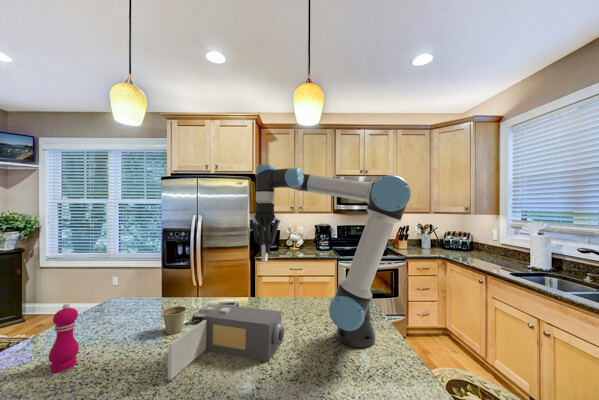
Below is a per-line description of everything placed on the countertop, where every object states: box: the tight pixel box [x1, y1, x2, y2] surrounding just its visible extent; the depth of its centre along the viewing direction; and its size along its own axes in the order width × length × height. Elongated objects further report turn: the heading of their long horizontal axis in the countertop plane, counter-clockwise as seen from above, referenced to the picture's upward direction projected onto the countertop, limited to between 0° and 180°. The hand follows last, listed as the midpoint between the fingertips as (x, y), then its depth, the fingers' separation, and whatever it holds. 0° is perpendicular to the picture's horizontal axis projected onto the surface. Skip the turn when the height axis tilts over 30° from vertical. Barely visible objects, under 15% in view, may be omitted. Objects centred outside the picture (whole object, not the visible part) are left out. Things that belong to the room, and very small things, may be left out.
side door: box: [165, 320, 207, 380], centre depth 82 cm, size 17×2×10 cm, turn 166°
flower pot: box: [161, 305, 188, 335], centre depth 106 cm, size 9×9×9 cm
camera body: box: [202, 305, 285, 362], centre depth 93 cm, size 28×12×13 cm, turn 74°
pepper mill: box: [47, 303, 80, 374], centre depth 82 cm, size 7×7×20 cm
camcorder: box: [191, 301, 240, 322], centre depth 122 cm, size 16×20×5 cm
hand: (264, 260), depth 101 cm, fingers closed
